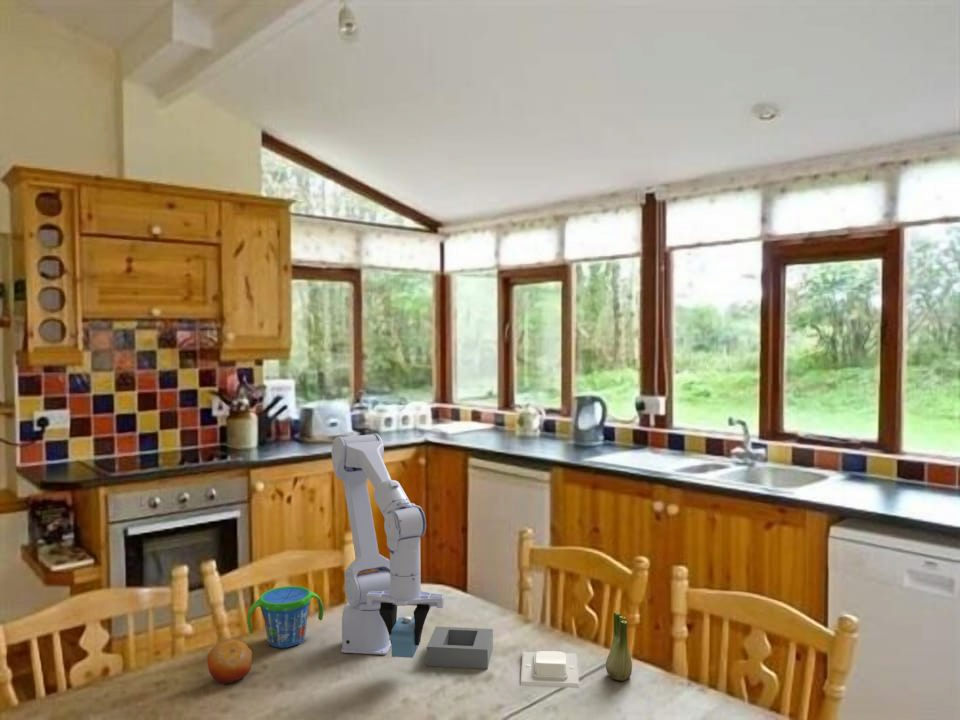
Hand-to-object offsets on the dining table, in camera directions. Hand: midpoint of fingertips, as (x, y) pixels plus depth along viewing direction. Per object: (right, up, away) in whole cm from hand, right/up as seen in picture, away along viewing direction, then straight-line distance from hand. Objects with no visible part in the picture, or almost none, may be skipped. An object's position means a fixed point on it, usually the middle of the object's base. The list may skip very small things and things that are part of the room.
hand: (405, 642), depth 140 cm
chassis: (+10, -6, +9) cm, 15 cm away
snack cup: (-27, -6, +16) cm, 32 cm away
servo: (0, -2, 0) cm, 2 cm away
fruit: (-33, -7, 0) cm, 34 cm away
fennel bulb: (+40, -7, 0) cm, 41 cm away
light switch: (+27, -7, +3) cm, 29 cm away
